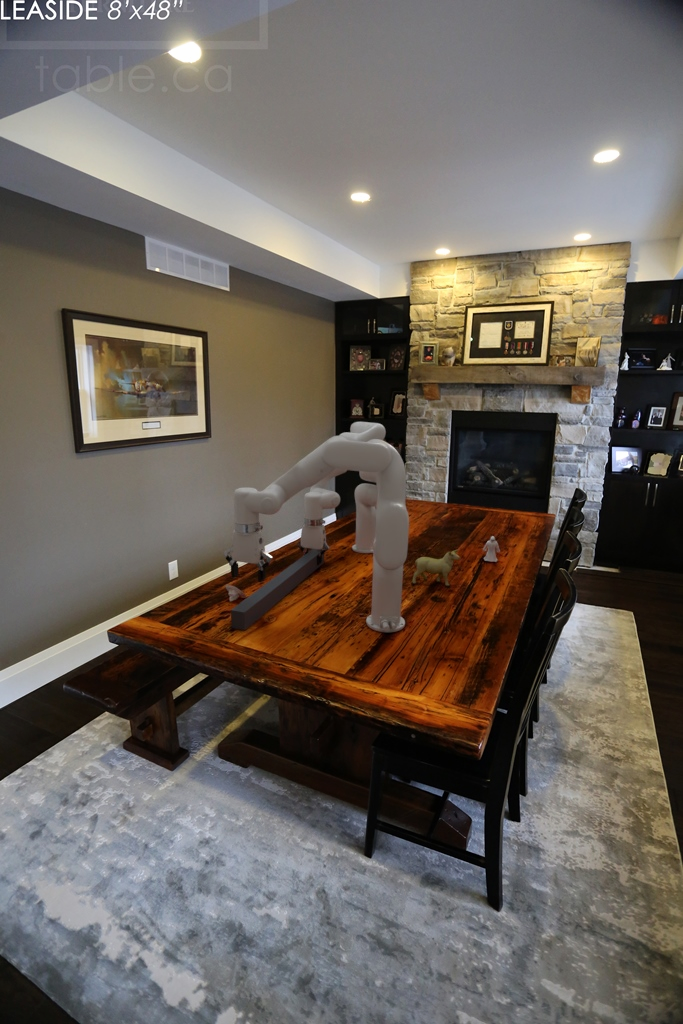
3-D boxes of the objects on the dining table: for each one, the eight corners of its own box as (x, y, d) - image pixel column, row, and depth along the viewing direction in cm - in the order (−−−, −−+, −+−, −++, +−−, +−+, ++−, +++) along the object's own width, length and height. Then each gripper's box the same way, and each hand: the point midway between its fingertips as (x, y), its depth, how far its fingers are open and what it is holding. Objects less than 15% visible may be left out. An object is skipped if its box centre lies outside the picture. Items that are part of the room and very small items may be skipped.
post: (244, 630, 157) (244, 612, 155) (231, 627, 158) (230, 609, 157) (324, 562, 219) (324, 549, 217) (314, 560, 220) (314, 547, 219)
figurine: (481, 562, 222) (483, 536, 219) (482, 556, 230) (484, 531, 227) (499, 564, 220) (501, 538, 217) (499, 558, 228) (501, 533, 225)
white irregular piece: (231, 609, 179) (216, 592, 179) (241, 599, 183) (227, 583, 182) (239, 604, 173) (224, 587, 172) (250, 595, 177) (235, 577, 176)
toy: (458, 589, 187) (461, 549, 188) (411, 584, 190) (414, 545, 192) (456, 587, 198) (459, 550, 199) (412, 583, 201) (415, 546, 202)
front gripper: (277, 527, 157) (277, 578, 161) (229, 521, 162) (231, 570, 167) (266, 533, 150) (266, 586, 154) (216, 527, 156) (218, 578, 160)
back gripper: (335, 521, 209) (334, 563, 213) (298, 517, 214) (298, 557, 219) (329, 526, 202) (328, 568, 206) (290, 522, 207) (291, 563, 212)
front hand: (248, 578), depth 160 cm, fingers open, 9 cm apart
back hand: (313, 562), depth 213 cm, fingers closed on post, 4 cm apart
